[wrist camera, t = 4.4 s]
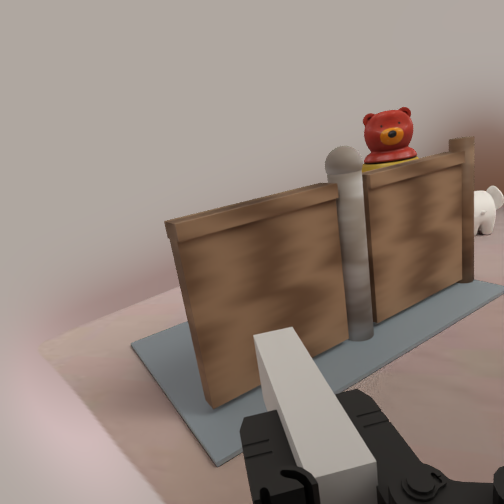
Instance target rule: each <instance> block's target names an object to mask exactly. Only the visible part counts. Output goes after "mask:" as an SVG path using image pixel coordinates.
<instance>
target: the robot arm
mask: <svg viewBox="0 0 504 504" xmlns="http://www.w3.org/2000/svg"><path fill="white" fill-rule="evenodd" d="M253 337H254V344H255V350H256V356H257V362H258V369H259V375H260V381H261V387H262V394H263V399H264V402H265V405H266V408H267V411H268V412H264V413H260V414H256V415H252V416H248V417H244V418H243V421H242V425H241V428H240V431H239V433H240V438H241V443H242V449H243V454H244V460H245V465H246V470H247V476H248V481H249V486H250V491H251V496H252V501H253V504H504V466H503V467H500V468H499V469H498V470H497V471H496V472H495V474H494V482H493V483H475V482H460V481H453V480H450V479H448V478H447V477H446V476H445V475H444V474H443V473H442V472H441V471H439V470H438V469H436V468H434V467H432V466H430V465H428V464H423V463H422V462H421V461H420V460H419V459H418V457H417V456H416V455H415V454H414V452H413V451H412V450H411V448H410V447H409V446H408V444H407V443H406V442H405V441H404V439H403V438H402V437H401V435H400V434H399V433H398V431H397V430H396V429H395V427H394V426H393V425H392V424H391V422H389V420H388V418H387V417H386V416H385V414H384V413H383V412H381V409H380V408H379V407H378V405H377V404H376V403H375V401H374V400H373V399H372V398H371V397H370V396H368V395H366V394H365V393H363V392H362V391H360V390H358V389H354V390H350V391H346V392H342V393H338V394H334V393H333V391H332V389H331V388H330V386H329V385H328V383H327V381H326V380H325V378H324V377H323V375H322V373H321V372H320V370H319V369H318V367H317V365H316V364H315V362H314V361H313V359H312V357H311V356H310V354H309V353H308V351H307V349H306V348H305V346H304V345H303V343H302V341H301V340H300V338H299V337H298V335H297V333H296V332H295V330H294V329H293V327H289V328H284V329H279V330H275V331H270V332H265V333H261V334H256V335H253Z"/></svg>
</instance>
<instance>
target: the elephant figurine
mask: <svg viewBox="0 0 504 504" xmlns="http://www.w3.org/2000/svg"><path fill="white" fill-rule="evenodd" d="M503 204H504V197H503V194H502V193H501V191H500V190H499V189H498V188H496V187H495V186H491V187H489V188H488V190H487V191H474V236H475V235H476V234H477V231H482V234H485V235H488V234H491V233H492V231H493V228H494V223H495V218H496V210H497V209H499V208H500V207H502V206H503Z"/></svg>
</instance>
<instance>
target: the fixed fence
mask: <svg viewBox="0 0 504 504" xmlns="http://www.w3.org/2000/svg"><path fill="white" fill-rule="evenodd" d="M362 165H363V163H362V158H361V155H360V154H359V152H358V151H357V150H356V149H354V148H352V147H349V146H340V147H337V148H335V149H334V150H332V151H331V152H330V153H329V155H328V156H327V158H326V161H325V170H326V173H327V177H328V183H337V185H338V196H339V198H336V207H337V218H338V228H339V239H340V249H341V260H342V270H343V280H344V291H345V301H346V312H347V322H348V333H349V339H348V340H350V341H356V342H361V341H366V340H369V339H371V338H372V337H373V336H374V328H373V322H375V323H377V324H378V323H379V322H381V321H383V320H385V319H387V318H389V317H391V316H393V315H395V314H397V313H399V312H400V311H402V310H404V309H406V308H408V307H410V306H412V305H414V304H416V303H418V302H420V301H422V300H423V299H425V298H427V297H429V296H431V295H433V294H435V293H437V292H439V291H441V290H443V289H444V288H446V287H448V286H450V285H452V284H454V283H471V282H473V281H474V136H473V137H462V138H455V139H450V140H449V152H444V153H440V154H435V155H431V156H427V157H423V158H419V159H415V160H411V161H407V162H403V163H399V164H395V165H391V166H387V167H383V168H379V169H375V170H370V171H366V172H362Z"/></svg>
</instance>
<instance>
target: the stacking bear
mask: <svg viewBox="0 0 504 504" xmlns="http://www.w3.org/2000/svg"><path fill="white" fill-rule="evenodd" d="M410 116H411V111H410V110H409V109H408V108H406V107H402V108H400V109H399V110H390V111H384V112H380V113H378V114H372V113H370V114H367V115H366V116H365V117H364V119H363V123H364V125H365V132H364V137H365V141H366V144H367V146H368V148H369V149H370V151H371V153H370V154H369V155H367V157H366V158H365V160H364V164H363V165H362V172H366V171H370V170H375V169H379V168H383V167H387V166H391V165H395V164H399V163H403V162H407V161H411V160H415V159H419V158H418V157H417V156H416V155H417V153H416V151H415V150H414V149H412V148H410V147H408V145H409V143H410V141H411V138H412V135H413V124H412V121H411V119H410Z"/></svg>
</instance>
